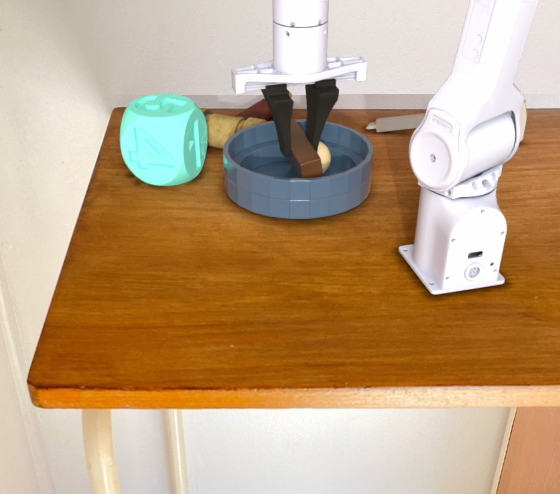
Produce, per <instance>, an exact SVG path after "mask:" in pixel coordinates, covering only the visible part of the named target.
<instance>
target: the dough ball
mask: <svg viewBox="0 0 560 494" xmlns="http://www.w3.org/2000/svg"><path fill="white" fill-rule="evenodd" d="M317 154H318V155H319V157H320V158H321V163H322V171H323V173H324V172H326V170H327V169H328V167H329V165H330V162H331V155H330V151H329V149H328V147H327V146H326V145H325V144H324V143H322V142H320V141H319V145H318V150H317Z"/></svg>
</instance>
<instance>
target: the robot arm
mask: <svg viewBox="0 0 560 494" xmlns="http://www.w3.org/2000/svg"><path fill="white" fill-rule="evenodd" d="M539 2H540V0H469V2H468V6H467V10H466V15H465V18H464V22H463V26H462V29H461V34H460V37H459V42H458V46H457V49H456V53H455V57H454V60H453V64H452V69H451V73H450V74H449V76H448V77H447V78H446V79H445V81H444V82H443V83H442V84H441V86H440V87H439V88H438V89H437V91H436V92H435V93H434V95H433V96H432V97H431V98H430V100H429V101H428V103H427V106H426V109H425V112H424V113H425V116H424V119H423V121H422V122H421V124H420V125H419V126H418V127H417V128H415V129H414V131H413V133H412V135H411V137H410V139H409V144H408V159H409V164H410V167H411V170H412V173H413V174H414V176H415V178H416V180H417V185H418V186H419V187H420V191H419V201H418V208H417V217H416V225H415V233H414V234H415V235H414V243H411V244H405V245H399V247H398V252H399V254H400V255H401V256H402V258H403V260H404V261H406V263H407V264H408V265H409V267H410V268H411V269H412V271H413V272H414V274H415V275H416V276H417V277H418V279H419V280H420V282H421V283H422V284H423V285H424V286H425V288H426V290H428V291H429V293H430V294H431V295H434V296H435V295H443V294H450V293H456V292H461V291H468V290H474V289H480V288H481V289H482V288H486V287H492V286H493V287H494V286H499V285H503V284H505V281H506V279H505V277H504V276H503V275H502V274H501V272H500V267H501V261H502V257H503V251H504V247H505V241H506V237H507V232H508V225H507V220H506V217H505V215H504V214H503V212H502V210H501V209H500V207H499V204H498V199H497V198H498V197H497V191H498V189H497V188H498V182H499V178H500V177H501V176H502V172H503V166H504V164H505V163H507V162H509V161H510V160H511V159H512V158H513V157H514V155H515V154H516V152H517V151H518V149H519V145H520V142H521V141H520V137H521V129H520V113H521V109H522V105H523V102H524V100H525V96H524V94H523V93H522V92H521V90H520V89H519V88H518V86H517V85H516V84H515V83H514V82H515V77H516V74H517V72H518V69H519V65H520V62H521V60H522V56H523V52H524V50H525V47H526V43H527V40H528V36H529V34H530V30H531V28H532V24H533V20H534V18H535V14H536V11H537V8H538V5H539ZM271 3H272V60H269V61H265V62H260V63H257V64H251V65H247V66H243V67H237V68H231V71H230V72H231V89H232V90H233V92H234V93H235V94H236V95H242V94H246V92H248V91H258V90H259V91H261V94H262V95H263V97H264V98H265V100H266V102H267V104H268V107H269V109H270V112H271V115H272V117H271V118H272V121H274V124H275V127H276V131H277V135H278V140H279V146H280V151H281V153H282V154H283V156H284V157H290V156H291V119H292V115H293V107H294V102H295V101H294V99H292V97H290V96H289V92H290V90H289V89H288V87H297V86H304V89H305V102H306V104H305V105H306V119H307V123H306V137H307V138H308V140H309V142H310V143H311V145H312V146H313V148H314V149H315V151H316V152H317V150H318V145H319V141H320V138H321V134H322V131H323V128H324V126H325V123H326V122H328V118H329V116H330V114H331V112H332V110H333V109H334V106H335V105H336V104H337V102H338V100H339V97H340V89H339V87H338V86H337V82H346V81H355V82H357V83H361V82H367V72H368V71H367V70H368V62H367V61H366V60H365V59H364V58H363V56H328V41H329V39H328V38H329V36H328V35H329V9H330V8H329V7H330V6H329V5H330V0H272V2H271ZM264 98H263V99H264Z"/></svg>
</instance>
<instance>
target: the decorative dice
mask: <svg viewBox="0 0 560 494" xmlns="http://www.w3.org/2000/svg"><path fill="white" fill-rule="evenodd" d="M200 108H201V107H199V106H198V105H197V103H196V102H195V101H193V100H192V99H191V98H190V97H188V96H185V95H182V94H179V93H167V92H164V93H163V92H162V93H161V92H159V93H158V92H157V93H152V94H151V93H150V94H146V95H141V96H139V97H137V98H134V99H133V100H131V102H129V103H128V105H127V106H126V108H125V109H124V112H123V115H122V117H121V122H120V128H119V129H120V130H119V145H120V146H119V147H120V152H121V157H122V159H123V162H124V164H125V166H126V167H127V168H128V170H129V171H130V172H131V174H133V175H134V176H135V177H136V178H137V179H139V180H140V181H141V182H143V183H145V184H147V185H151V186H158V187H171V186H178V185H183V184H186V183H189V182H191V181H193V180H195V178H197V177H198V176H199V174H200V173H201V171H202V169H203V166H204V164H205V160H206V156H207V150H208V146H207V124H206V120H205V117H204V114H203V112H202V111H201V110H200Z"/></svg>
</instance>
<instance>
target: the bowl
mask: <svg viewBox="0 0 560 494" xmlns="http://www.w3.org/2000/svg"><path fill="white" fill-rule="evenodd" d="M294 119H295V120H296V122H297V123H298V125H299V126H300V128H301V129H302V131H303V132H304V134H305V135H306V123H307V118H294ZM291 120H292V118H291ZM320 142H322V143H324V144H325V145H326V146H327V147H328V149H329V151H330V155H331V162H330V165H329V167H328V169H327V170H326V172H324V173H323V177H317V178H299V176H298V175H297V173H296V171H295V170H294V168H293V166H292V165H291V163H290V162H289V160H288V158H287V157H284V156H283V154H282V153H281V151H280V146H279V143H278V137H277V132H276V127H275V124H274V120H269V121H268V120H267V122H264V123H260V124H255V125H252V126H249V127H247V128H244V129H242V130H239V131H238V132H236V133H235V134H233V135H232V136H230V137H229V138H228V140H227V141H226V142H225V144H224V146H223V149H222V159H223V161H222V162H223V163H222V164H223V179H224V180H223V182H224V191H225V193H226V194H227V196H228V198H229V199H230V200H231V201H232V202H233V203H235V204H236V205H237V206H238V207H241V208H242V209H245V210H247V211H250V212H251V213H254V214H257V215H261V216H266V217H269V218H270V217H271V218H277V219H279V218H280V219H286V220H308V219H309V220H310V219H317V218H318V219H319V218H326V217H332V216H336V215H338V214H342V213H345V212H348V211H350V210H352V209H354V208H357V207H358V206H360V205H361V204H362V203H363V202H364V201H365V200H366V199H368V198H369V195H370V193H371V190H372V181H373V167H374V155H375V151H374V146H373V143H372V142H371V140H370V139H369V138H368V137H367V136H366V135H364V134H363V133H361V132H359V131H358V130H357V129H354V128H352V127H349V126H346V125H343V124H340V123H336V122H331V121H326V123H325V126H324V128H323V131H322V134H321V138H320Z"/></svg>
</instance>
